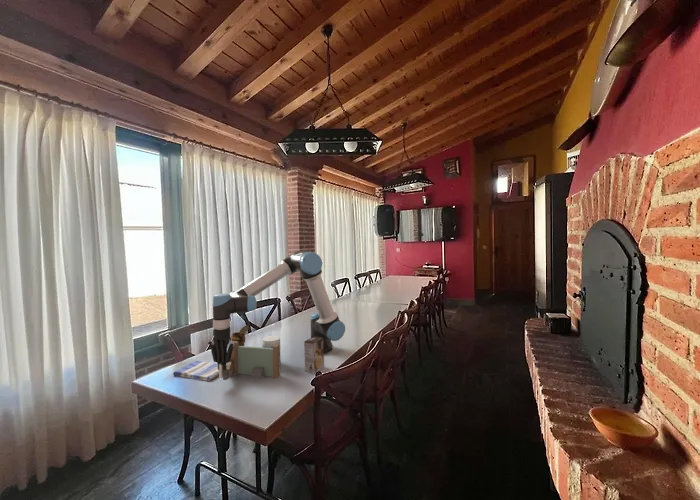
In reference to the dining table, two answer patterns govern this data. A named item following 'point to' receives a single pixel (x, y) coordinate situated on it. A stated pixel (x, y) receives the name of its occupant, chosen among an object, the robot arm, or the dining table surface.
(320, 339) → the coffee box
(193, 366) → the dish towel
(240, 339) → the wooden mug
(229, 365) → the walnut bar
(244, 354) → the door set
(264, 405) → the dining table surface
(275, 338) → the supplement tub
